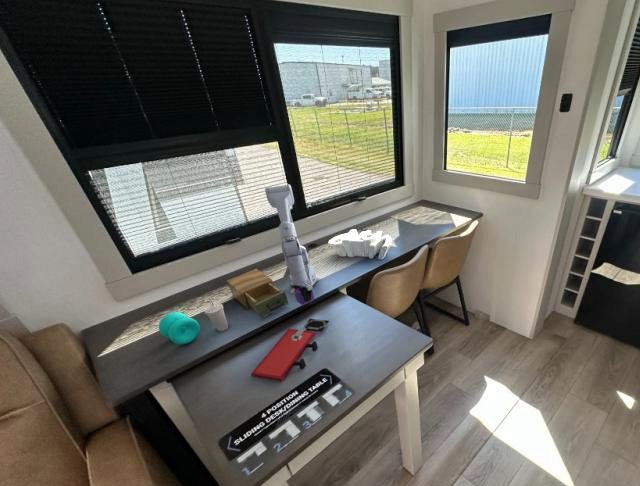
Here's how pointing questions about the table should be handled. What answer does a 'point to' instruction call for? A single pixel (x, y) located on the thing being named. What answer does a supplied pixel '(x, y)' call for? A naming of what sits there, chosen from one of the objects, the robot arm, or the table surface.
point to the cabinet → (247, 284)
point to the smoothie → (217, 315)
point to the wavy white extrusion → (361, 244)
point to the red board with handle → (289, 351)
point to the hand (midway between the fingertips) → (305, 298)
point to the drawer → (266, 299)
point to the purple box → (301, 297)
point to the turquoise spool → (179, 328)
